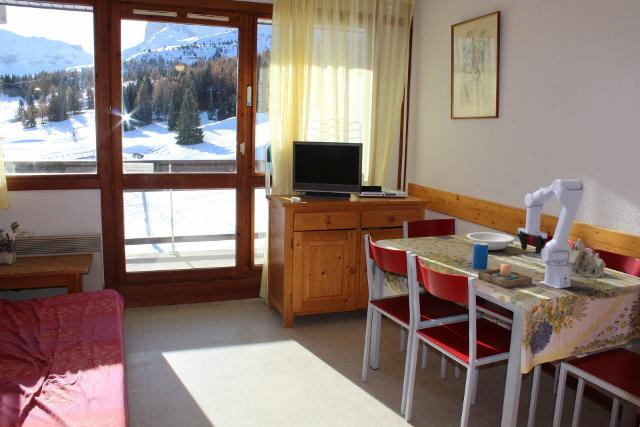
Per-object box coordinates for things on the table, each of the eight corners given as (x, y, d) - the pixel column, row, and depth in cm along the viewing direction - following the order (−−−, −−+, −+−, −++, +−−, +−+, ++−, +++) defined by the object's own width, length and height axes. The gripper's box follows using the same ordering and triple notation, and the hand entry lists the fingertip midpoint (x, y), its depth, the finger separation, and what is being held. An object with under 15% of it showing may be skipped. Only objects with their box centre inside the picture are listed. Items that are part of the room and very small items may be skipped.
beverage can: (470, 267, 253) (471, 241, 252) (484, 267, 253) (486, 242, 251) (474, 271, 247) (475, 244, 245) (488, 271, 247) (490, 245, 245)
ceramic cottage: (553, 270, 249) (558, 238, 246) (579, 268, 256) (585, 236, 253) (581, 281, 235) (587, 247, 232) (608, 279, 242) (615, 245, 239)
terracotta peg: (511, 278, 232) (512, 264, 231) (507, 280, 229) (508, 266, 228) (501, 277, 234) (503, 263, 233) (498, 278, 231) (499, 264, 230)
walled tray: (531, 284, 228) (532, 277, 227) (506, 288, 222) (506, 281, 221) (502, 274, 242) (503, 268, 241) (478, 278, 236) (478, 271, 235)
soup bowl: (523, 250, 288) (524, 238, 287) (493, 256, 274) (494, 243, 273) (486, 242, 307) (487, 230, 306) (456, 247, 294) (457, 235, 293)
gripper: (553, 223, 238) (550, 253, 240) (526, 217, 251) (524, 247, 253) (541, 224, 235) (539, 255, 237) (515, 218, 248) (513, 248, 250)
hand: (530, 251), depth 245 cm, fingers open, 7 cm apart
